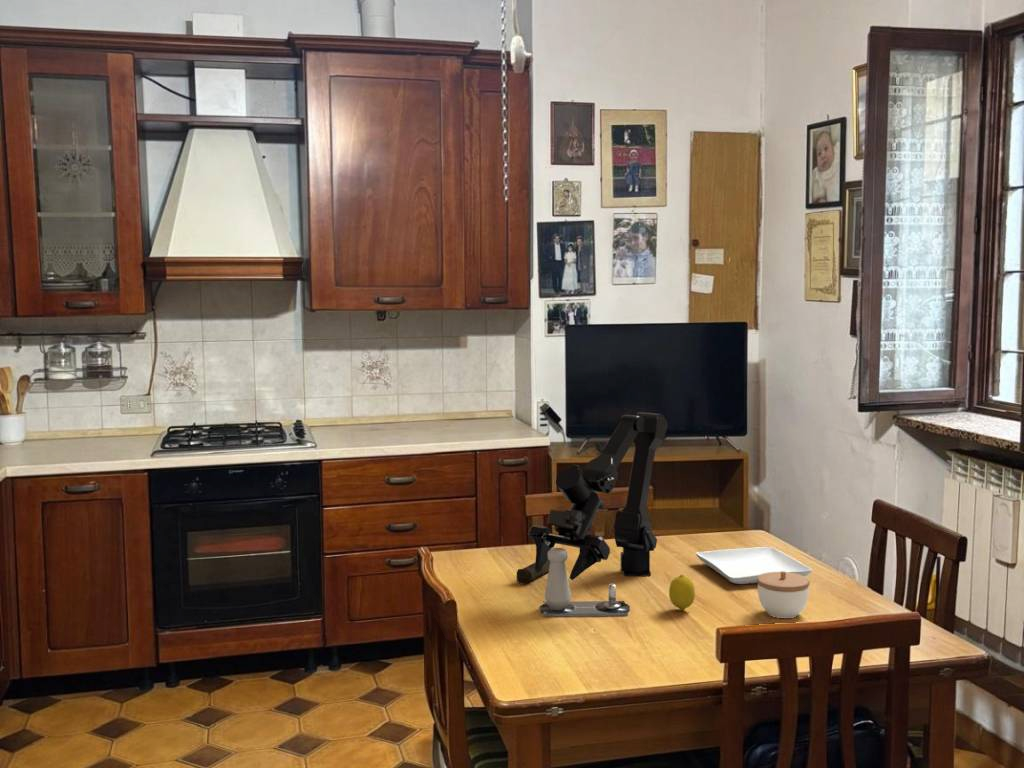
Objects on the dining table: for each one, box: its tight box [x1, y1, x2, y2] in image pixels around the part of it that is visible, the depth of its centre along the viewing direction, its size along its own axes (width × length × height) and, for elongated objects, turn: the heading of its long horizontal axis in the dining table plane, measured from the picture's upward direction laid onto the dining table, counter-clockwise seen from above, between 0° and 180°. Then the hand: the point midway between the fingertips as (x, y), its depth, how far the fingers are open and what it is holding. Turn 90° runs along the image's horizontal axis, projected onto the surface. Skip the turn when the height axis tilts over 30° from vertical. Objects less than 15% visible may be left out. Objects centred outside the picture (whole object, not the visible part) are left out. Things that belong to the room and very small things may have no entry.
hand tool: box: [516, 559, 550, 585], centre depth 252 cm, size 19×4×5 cm, turn 146°
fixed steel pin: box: [604, 583, 621, 610], centre depth 225 cm, size 4×4×5 cm
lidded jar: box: [756, 571, 810, 619], centre depth 220 cm, size 11×11×9 cm
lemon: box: [668, 574, 696, 612], centre depth 224 cm, size 6×6×8 cm
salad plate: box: [695, 546, 813, 585], centre depth 250 cm, size 21×21×3 cm
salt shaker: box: [544, 547, 572, 610], centre depth 225 cm, size 6×6×13 cm
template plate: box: [539, 600, 631, 618], centre depth 225 cm, size 20×8×1 cm, turn 89°
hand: (553, 575), depth 224 cm, fingers open, 9 cm apart
